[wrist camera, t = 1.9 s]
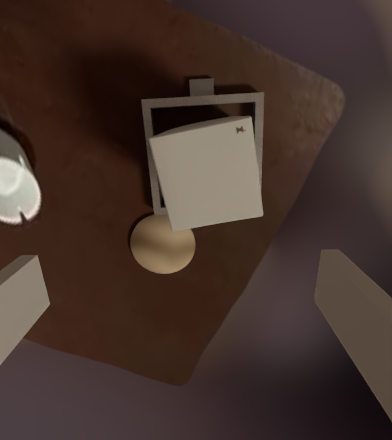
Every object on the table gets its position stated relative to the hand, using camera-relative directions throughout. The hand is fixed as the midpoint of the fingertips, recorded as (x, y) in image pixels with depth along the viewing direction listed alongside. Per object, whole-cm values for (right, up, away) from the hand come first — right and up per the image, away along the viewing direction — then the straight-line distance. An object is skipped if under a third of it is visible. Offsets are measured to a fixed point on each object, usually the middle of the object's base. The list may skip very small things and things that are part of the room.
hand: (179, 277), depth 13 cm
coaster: (-4, -1, +29) cm, 30 cm away
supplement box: (+2, +12, +25) cm, 27 cm away
